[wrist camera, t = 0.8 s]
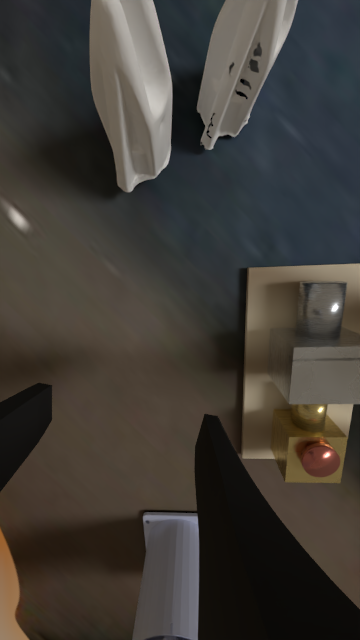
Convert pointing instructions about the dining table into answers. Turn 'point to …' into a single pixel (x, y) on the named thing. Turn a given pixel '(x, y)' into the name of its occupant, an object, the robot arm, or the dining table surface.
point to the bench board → (262, 314)
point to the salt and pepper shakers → (155, 79)
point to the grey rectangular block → (317, 349)
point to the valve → (308, 444)
